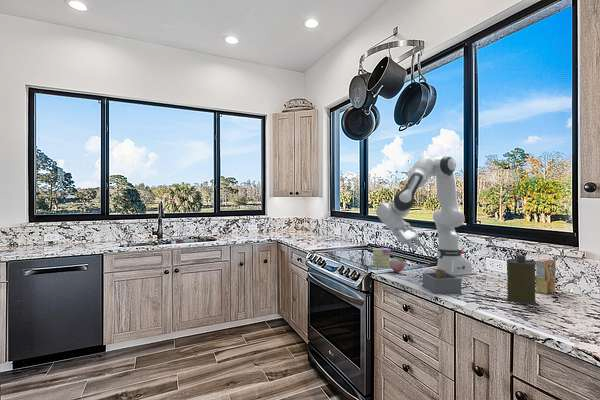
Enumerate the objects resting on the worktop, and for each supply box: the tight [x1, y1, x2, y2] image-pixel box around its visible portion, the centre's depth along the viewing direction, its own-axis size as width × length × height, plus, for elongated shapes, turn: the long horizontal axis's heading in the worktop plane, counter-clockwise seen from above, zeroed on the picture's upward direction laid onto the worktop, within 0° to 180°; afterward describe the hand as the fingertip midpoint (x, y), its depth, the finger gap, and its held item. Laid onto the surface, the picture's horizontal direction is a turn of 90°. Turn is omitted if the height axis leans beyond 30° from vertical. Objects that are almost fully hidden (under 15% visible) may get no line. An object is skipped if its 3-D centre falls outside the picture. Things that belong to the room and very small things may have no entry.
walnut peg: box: [436, 269, 446, 279], centre depth 153 cm, size 4×4×10 cm
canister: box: [506, 254, 537, 305], centre depth 136 cm, size 11×10×20 cm
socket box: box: [422, 272, 462, 295], centre depth 153 cm, size 13×13×7 cm
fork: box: [405, 260, 427, 269], centre depth 210 cm, size 3×20×2 cm, turn 21°
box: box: [372, 247, 391, 268], centre depth 208 cm, size 10×6×12 cm, turn 84°
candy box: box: [535, 258, 556, 295], centre depth 148 cm, size 9×4×15 cm, turn 116°
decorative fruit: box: [389, 256, 406, 273], centre depth 190 cm, size 9×8×10 cm
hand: (418, 247), depth 160 cm, fingers open, 8 cm apart
